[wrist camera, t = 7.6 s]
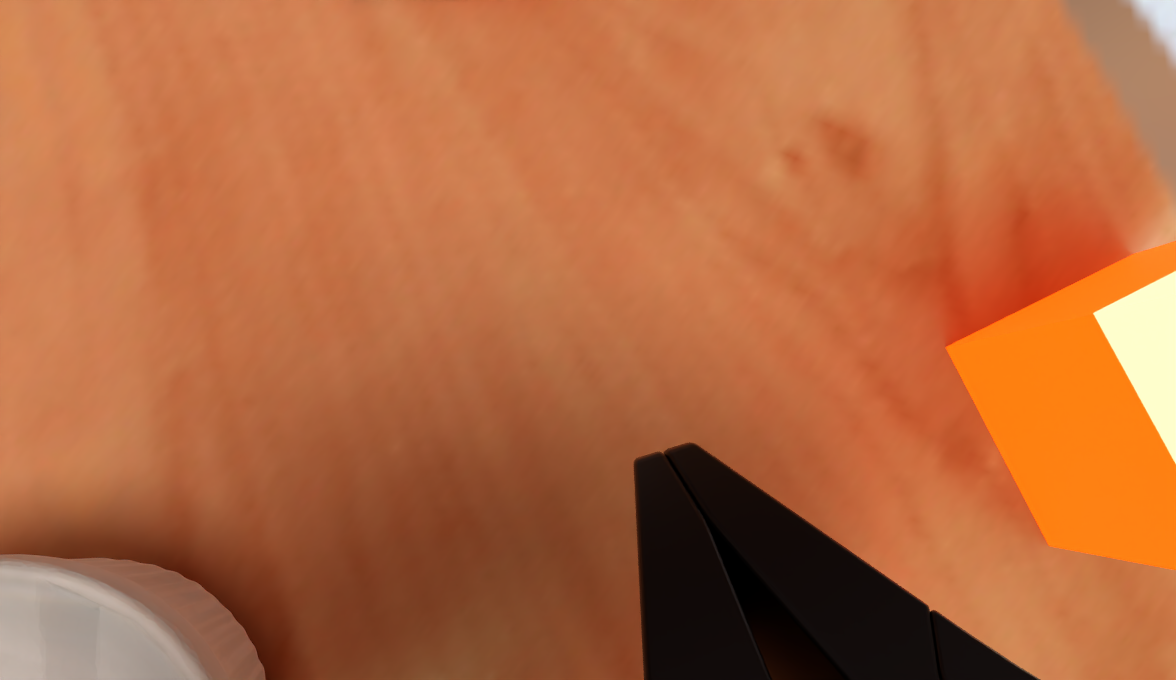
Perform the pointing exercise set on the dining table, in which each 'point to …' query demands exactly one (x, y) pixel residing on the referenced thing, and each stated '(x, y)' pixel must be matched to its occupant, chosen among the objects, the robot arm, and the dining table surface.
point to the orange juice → (1089, 407)
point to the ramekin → (115, 624)
